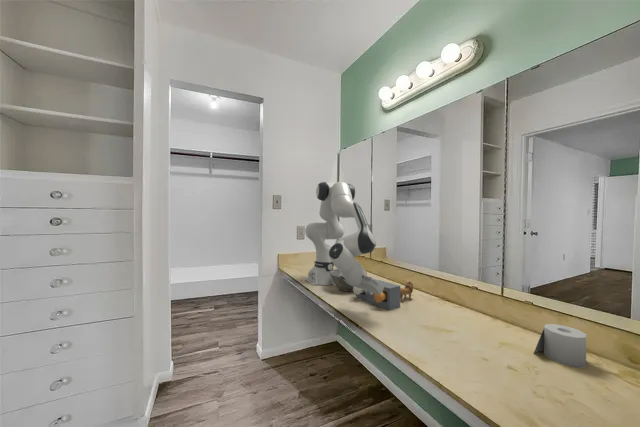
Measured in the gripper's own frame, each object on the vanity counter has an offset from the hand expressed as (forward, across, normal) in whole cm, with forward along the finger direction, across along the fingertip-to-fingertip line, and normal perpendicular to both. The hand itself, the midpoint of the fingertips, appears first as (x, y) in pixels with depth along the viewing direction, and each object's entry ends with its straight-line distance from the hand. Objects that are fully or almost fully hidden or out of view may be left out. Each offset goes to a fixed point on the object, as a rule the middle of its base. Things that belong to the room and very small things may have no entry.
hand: (370, 292), depth 114 cm
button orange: (+9, 0, -1) cm, 9 cm away
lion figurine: (+25, +1, -12) cm, 28 cm away
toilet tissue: (+20, -59, -8) cm, 63 cm away
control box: (+15, +7, -3) cm, 16 cm away
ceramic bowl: (+17, +32, -5) cm, 36 cm away
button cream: (+9, +14, -1) cm, 17 cm away
